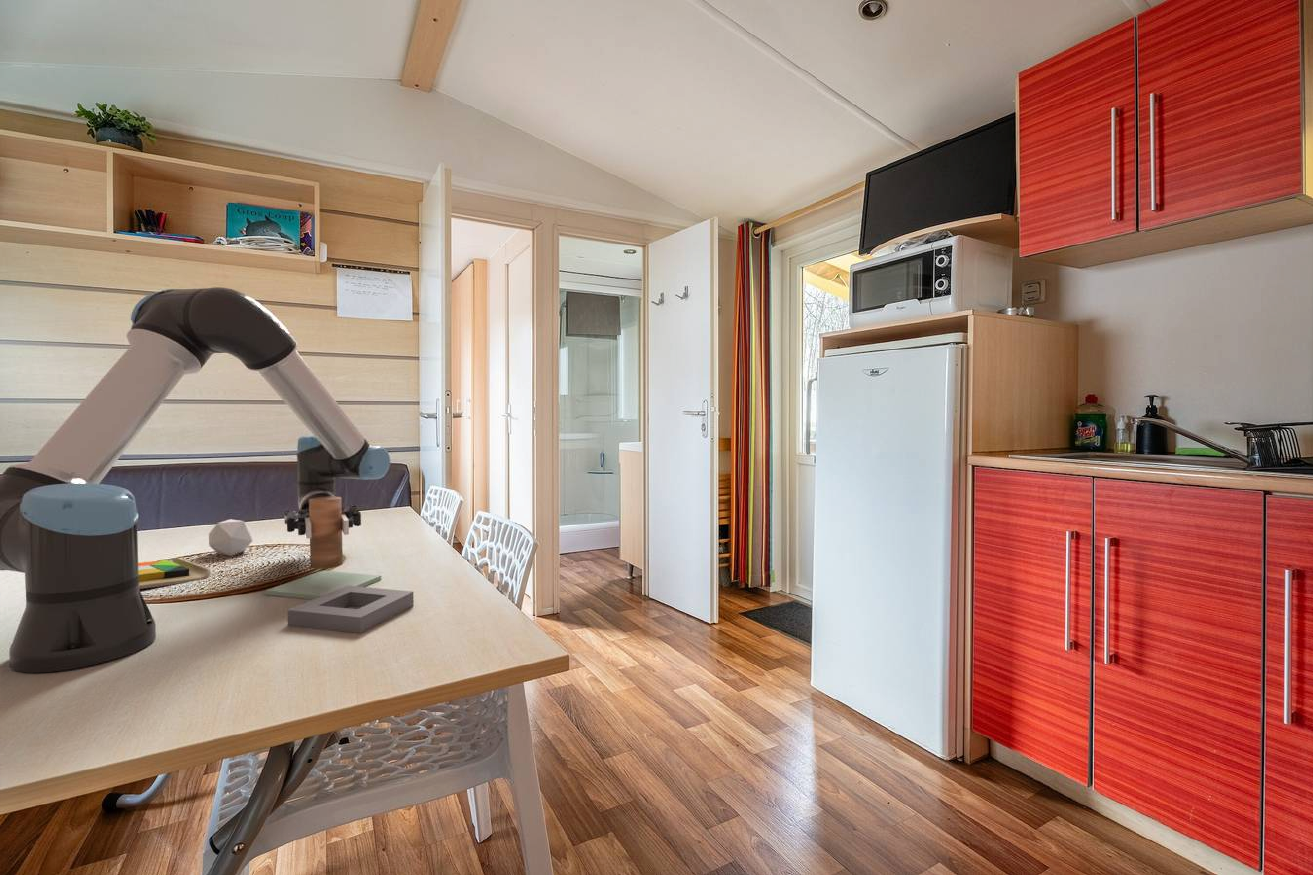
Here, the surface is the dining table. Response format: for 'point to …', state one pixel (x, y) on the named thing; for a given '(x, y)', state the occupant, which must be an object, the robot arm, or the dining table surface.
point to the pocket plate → (337, 617)
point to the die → (230, 537)
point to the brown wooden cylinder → (326, 532)
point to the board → (321, 584)
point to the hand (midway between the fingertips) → (328, 529)
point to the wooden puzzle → (169, 572)
